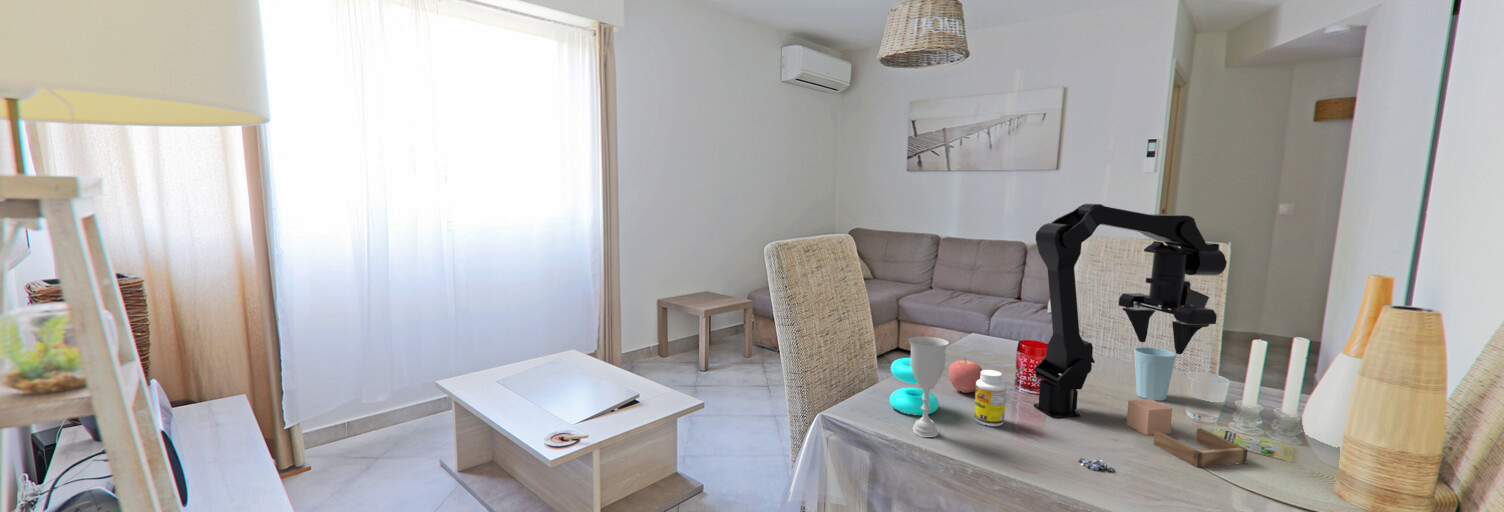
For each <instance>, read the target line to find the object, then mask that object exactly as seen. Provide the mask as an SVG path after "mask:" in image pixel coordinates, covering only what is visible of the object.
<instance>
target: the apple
mask: <svg viewBox="0 0 1504 512" xmlns="http://www.w3.org/2000/svg"><path fill="white" fill-rule="evenodd" d="M963 358H964V359H959V360H955V361H954V362H952V364H950V366H949V368H948V377H949V382H950V384H951V385H952V386H953V387H954V389H956V390H957V391H958V392H960V391H961V392H960V393H965V394H969V393H973V392H976V382H977V380H979V379H980V376H981V371H982V370H983V369H982V367H981V365H979V364H978V363H977V362H975V361H972V360H967V359H966V358H965V357H963Z"/></svg>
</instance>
